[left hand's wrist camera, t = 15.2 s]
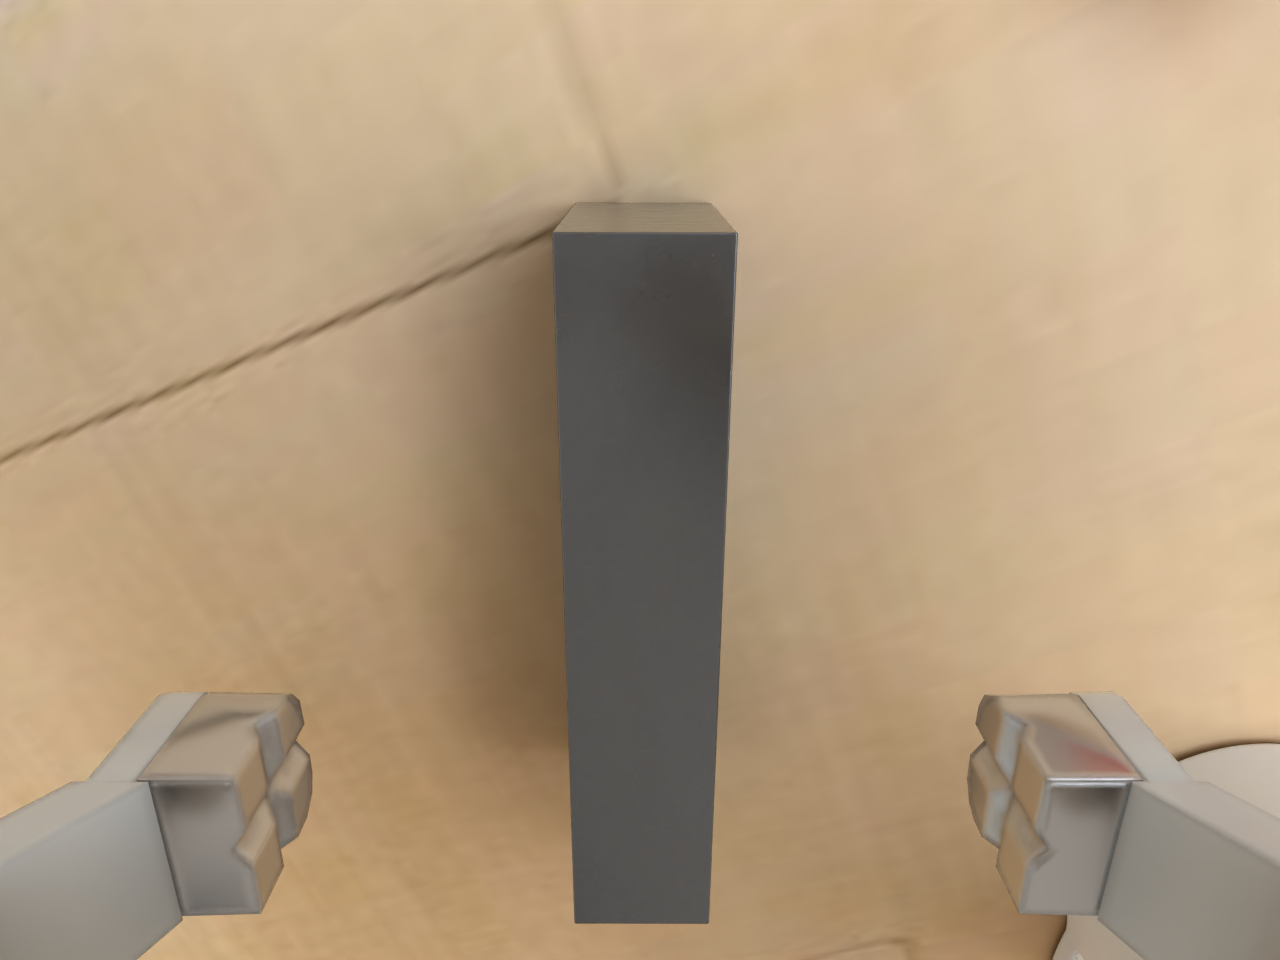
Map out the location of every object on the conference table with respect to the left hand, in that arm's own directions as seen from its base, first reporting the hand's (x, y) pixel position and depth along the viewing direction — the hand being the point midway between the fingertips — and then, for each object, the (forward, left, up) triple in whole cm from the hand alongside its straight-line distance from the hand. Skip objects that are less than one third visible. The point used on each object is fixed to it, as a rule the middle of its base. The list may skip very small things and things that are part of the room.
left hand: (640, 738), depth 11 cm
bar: (-5, +5, -23) cm, 24 cm away
